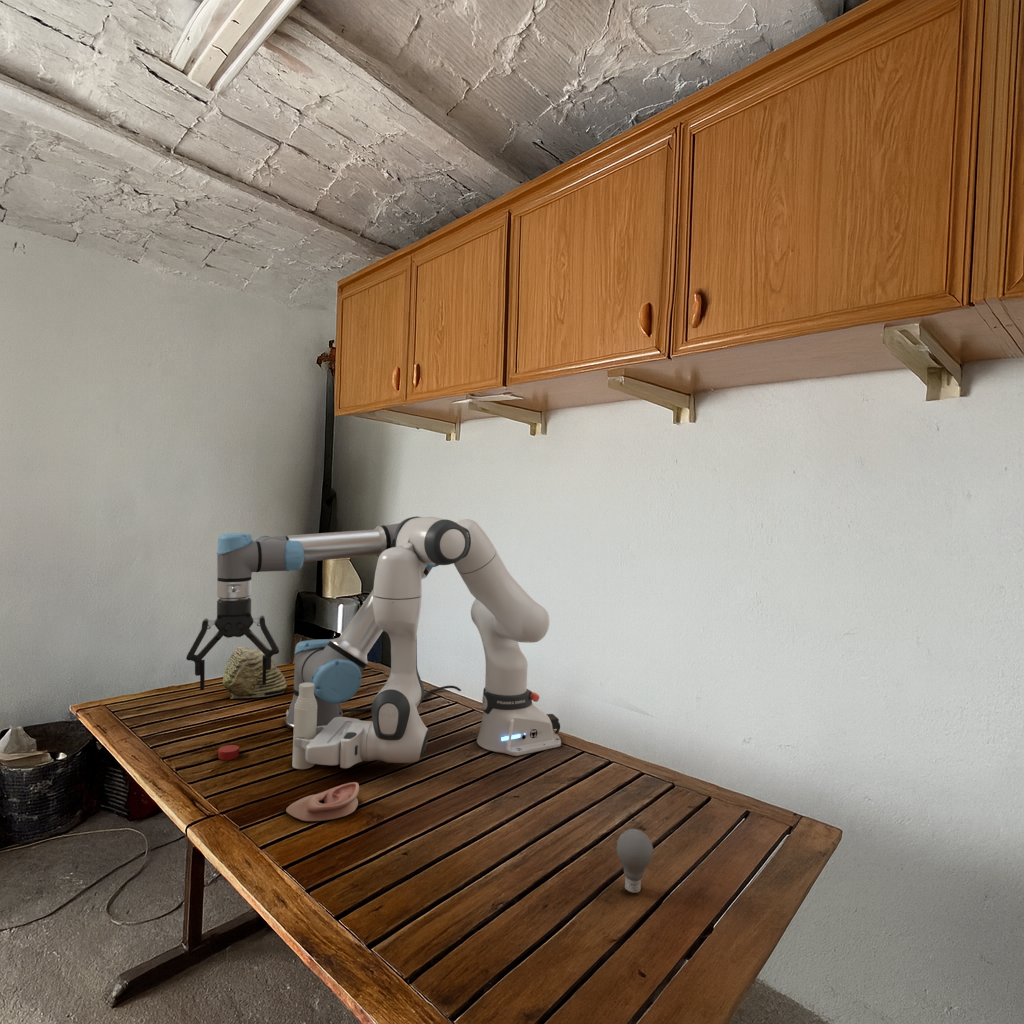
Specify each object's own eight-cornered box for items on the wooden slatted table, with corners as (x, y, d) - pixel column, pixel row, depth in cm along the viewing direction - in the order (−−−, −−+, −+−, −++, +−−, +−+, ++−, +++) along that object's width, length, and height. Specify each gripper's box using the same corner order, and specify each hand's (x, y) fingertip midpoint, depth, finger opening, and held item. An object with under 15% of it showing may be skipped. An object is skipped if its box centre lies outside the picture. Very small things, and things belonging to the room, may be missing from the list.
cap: (242, 753, 154) (242, 745, 154) (232, 760, 150) (232, 753, 150) (224, 751, 154) (224, 744, 154) (214, 759, 150) (214, 751, 150)
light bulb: (610, 879, 108) (613, 822, 108) (644, 879, 109) (647, 822, 109) (619, 902, 102) (622, 840, 102) (655, 901, 103) (658, 840, 103)
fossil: (218, 695, 195) (220, 647, 195) (278, 685, 208) (279, 640, 207) (228, 703, 189) (230, 653, 188) (289, 692, 201) (290, 645, 201)
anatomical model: (278, 797, 124) (308, 772, 135) (277, 817, 124) (307, 791, 136) (340, 806, 122) (366, 781, 133) (339, 827, 122) (365, 799, 133)
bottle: (307, 770, 146) (310, 688, 146) (287, 767, 147) (290, 686, 147) (319, 762, 151) (322, 682, 151) (300, 758, 152) (303, 680, 152)
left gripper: (173, 603, 143) (173, 695, 144) (290, 598, 153) (289, 685, 153) (177, 597, 150) (177, 686, 151) (288, 593, 160) (287, 676, 160)
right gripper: (371, 712, 159) (317, 708, 159) (345, 743, 138) (283, 739, 139) (370, 737, 159) (316, 733, 159) (344, 771, 138) (282, 767, 139)
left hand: (233, 686), depth 152 cm, fingers open, 13 cm apart
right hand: (301, 736), depth 149 cm, fingers closed on bottle, 5 cm apart
